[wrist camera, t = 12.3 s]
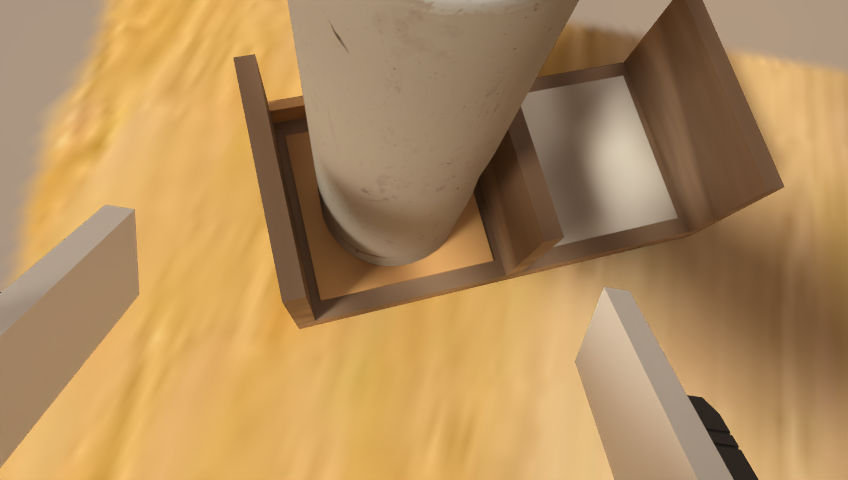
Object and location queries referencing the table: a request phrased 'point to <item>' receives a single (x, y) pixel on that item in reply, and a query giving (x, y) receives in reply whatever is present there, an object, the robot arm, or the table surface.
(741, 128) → the rack
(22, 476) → the table surface
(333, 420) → the table surface
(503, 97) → the thermos bottle
